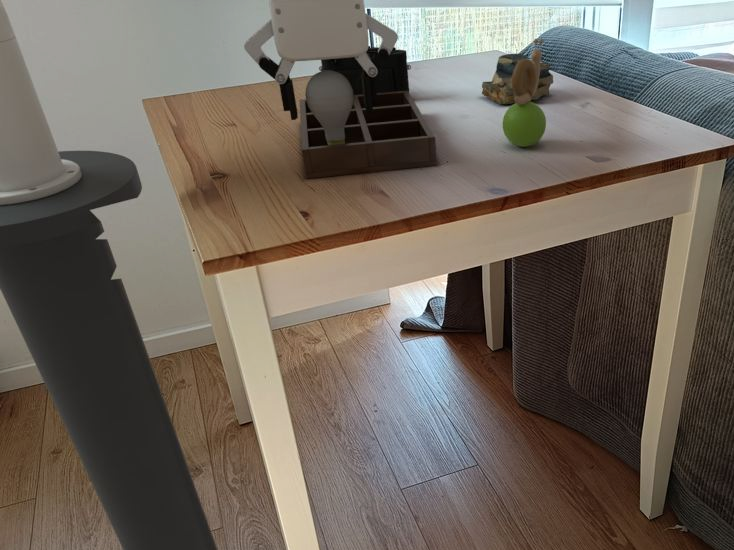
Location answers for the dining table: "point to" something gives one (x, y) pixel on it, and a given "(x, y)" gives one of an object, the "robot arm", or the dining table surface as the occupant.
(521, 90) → the snail figurine
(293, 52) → the robot arm
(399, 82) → the camera
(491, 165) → the dining table surface
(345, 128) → the compartment tray
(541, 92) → the rock
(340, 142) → the light bulb
